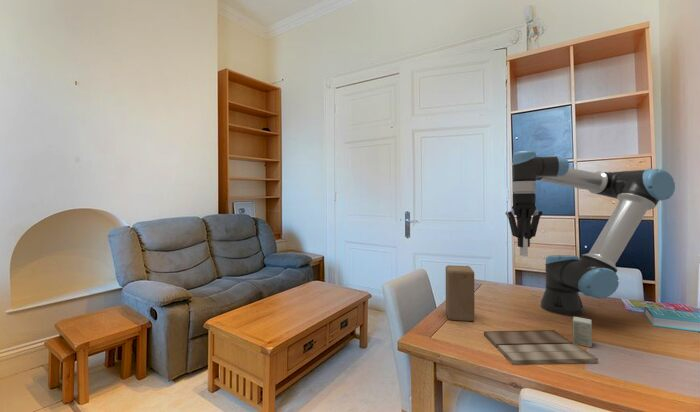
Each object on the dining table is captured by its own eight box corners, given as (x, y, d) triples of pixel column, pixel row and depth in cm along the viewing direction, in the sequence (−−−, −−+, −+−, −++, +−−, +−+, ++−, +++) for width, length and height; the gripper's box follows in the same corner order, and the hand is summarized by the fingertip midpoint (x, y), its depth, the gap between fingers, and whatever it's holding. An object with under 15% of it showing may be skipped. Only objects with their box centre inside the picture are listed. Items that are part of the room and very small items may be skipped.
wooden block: (474, 322, 120) (474, 271, 120) (448, 320, 122) (447, 270, 122) (470, 312, 130) (470, 265, 130) (445, 311, 132) (445, 264, 132)
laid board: (575, 347, 100) (575, 343, 100) (597, 362, 91) (597, 358, 91) (497, 349, 99) (497, 345, 99) (512, 364, 90) (512, 360, 90)
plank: (554, 333, 110) (554, 330, 110) (572, 346, 101) (572, 341, 101) (484, 335, 109) (484, 331, 109) (496, 347, 100) (496, 343, 100)
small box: (591, 342, 103) (592, 319, 102) (591, 348, 99) (592, 323, 99) (573, 338, 106) (573, 315, 106) (572, 343, 102) (572, 319, 102)
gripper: (535, 192, 120) (534, 253, 120) (501, 193, 119) (501, 254, 120) (547, 192, 112) (547, 257, 113) (511, 193, 112) (511, 258, 113)
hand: (523, 255), depth 117 cm, fingers closed
